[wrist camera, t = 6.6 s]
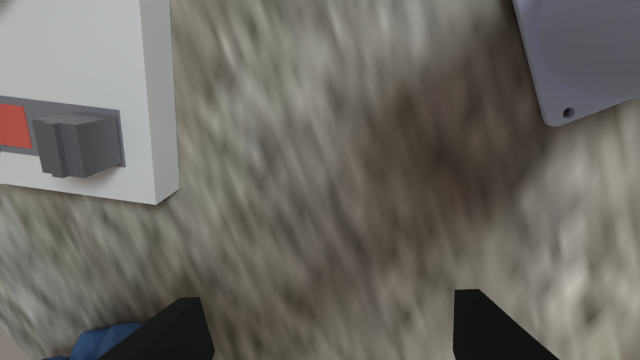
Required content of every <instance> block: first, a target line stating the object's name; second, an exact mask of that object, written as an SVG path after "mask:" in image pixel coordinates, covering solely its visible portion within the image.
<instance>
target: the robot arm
mask: <svg viewBox="0 0 640 360" xmlns="http://www.w3.org/2000/svg"><path fill="white" fill-rule="evenodd" d="M512 1H513V5H514V9H515V13H516V17H517V21H518V25H519V28H520V32H521V36H522V40H523V44H524V48H525V52H526V56H527V59H528V63H529V67H530V71H531V75H532V79H533V83H534V87H535V90H536V94H537V98H538V102H539V106H540V110H541V114H542V118H543V121H544V123H545V124H546V125H548V126H551V127H558V126H562V125H564V124H567V123H569V122H572V121H575V120H577V119H580V118H583V117H585V116H588V115H590V114H593V113H596V112H598V111H601V110H604V109H606V108H609V107H611V106H614V105H617V104H619V103H622V102H625V101H627V100H630V99H633V100H640V0H512ZM567 108H569V114H568V115H567V116H565V117H564V116H563V112H564V110H565V109H567ZM214 352H215V350H214V346H213V343H212V339H211V336H210V332H209V329H208V325H207V321H206V318H205V314H204V311H203V307H202V304H201V300H200V297H188V298H179V299H178V300H176V301H175V302H173V303H172V304H170V305H169V306H168V307H166V308H165V309H163V310H162V311H161V312H159V313H158V314H157V315H155V316H154V317H153V318H151V319H150V320H149V321H147V322H146V323H145V324H143V325H142V326H141V327H139V328H138V329H137V330H136V331H134V332H133V333H132V334H130V335H129V336H128V337H126V338H125V339H124V340H122V341H121V342H120V343H118V344H117V345H116V346H114V347H113V348H112V349H110V350H109V351H108V352H106V353H105V354H104V355H102V356H101V357H99V358H98V359H97V360H212V358H213V355H214ZM453 352H454V355H455V359H456V360H559V359H558V358H557V357H556V356H554V355H553V354H552V353H551V352H550V351H548V350H547V349H546V348H545V347H544V346H543V345H541V344H540V343H539V342H538V341H537V340H535V339H534V338H533V337H532V336H531V335H530V334H529V333H527V332H526V331H525V330H524V329H523V328H522V327H521V326H519V325H518V324H517V323H516V322H515V321H514V320H513V319H512V318H511V317H509V316H508V315H507V314H506V313H505V312H504V311H503V310H502V309H501V308H499V307H498V306H497V305H496V304H495V303H494V302H493V301H492V300H491V299H489V298H488V297H487V296H486V295H485V294H484V293H483V292H482V291H481V290H479V289H466V290H455V299H454V331H453Z"/></svg>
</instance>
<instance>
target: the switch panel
mask: <svg viewBox="0 0 640 360" xmlns="http://www.w3.org/2000/svg"><path fill="white" fill-rule="evenodd" d="M74 112H82V113H90V114H98V115H106V116H114V117H116V121H117V129H118V138H119V146H120V155H121V164H118V165H116V166H113V167H111V168H108V169H106V170H104V171H101V172H99V173H96V174H94V175H91V176H89V177H87V178H79V177H71V176H68V177H65V178H57V177H52V174H49V173H43V172H42V167H41V162H40V157H39V153H38V148H37V143H36V138H35V133H34V129H33V124H32V119H37V118H43V117H49V116H56V115H62V114H68V113H74ZM0 183H2V184H10V185H17V186H24V187H31V188H38V189H45V190H52V191H60V192H67V193H74V194H81V195H88V196H95V197H103V198H110V199H117V200H124V201H131V202H138V203H145V204H153V205H157V204H158V203H160V202H161V201H162V200H164V199H165V198H167V197H168V196H170V195H171V194H173V193H174V192H175V191H177V190H178V189H179V171H178V152H177V133H176V115H175V96H174V77H173V59H172V40H171V21H170V2H169V0H0Z"/></svg>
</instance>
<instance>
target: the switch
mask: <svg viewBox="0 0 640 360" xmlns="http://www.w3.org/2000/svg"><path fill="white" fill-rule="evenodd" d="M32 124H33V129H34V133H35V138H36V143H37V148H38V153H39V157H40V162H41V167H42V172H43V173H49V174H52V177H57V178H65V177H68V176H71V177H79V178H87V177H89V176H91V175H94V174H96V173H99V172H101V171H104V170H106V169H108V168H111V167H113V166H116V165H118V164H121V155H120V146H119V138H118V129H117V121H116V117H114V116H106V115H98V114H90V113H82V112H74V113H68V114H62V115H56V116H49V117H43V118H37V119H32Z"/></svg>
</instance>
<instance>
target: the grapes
mask: <svg viewBox="0 0 640 360" xmlns="http://www.w3.org/2000/svg"><path fill="white" fill-rule="evenodd" d="M142 325H143V324H142V323H137V322H132V323H124V324H119V325H114V326H111V327H110V328H109V329H99V330H92V331H88V332H83V333H82V334H81V335H80V337H79V339H78V340H77V342H76V344H75V346H74V348H73V349H72V351H71V355H70V357H64V356H59V357H53V358H47V359H42V360H97V359H98V358H99V357H101V356H102V355H104V354H105V353H106V352H108V351H109V350H110V349H112V348H113V347H114V346H116V345H117V344H118V343H120V342H121V341H122V340H124V339H125V338H126V337H128V336H129V335H130V334H132V333H133V332H134V331H136V330H137V329H138V328H139V327H141V326H142Z"/></svg>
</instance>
